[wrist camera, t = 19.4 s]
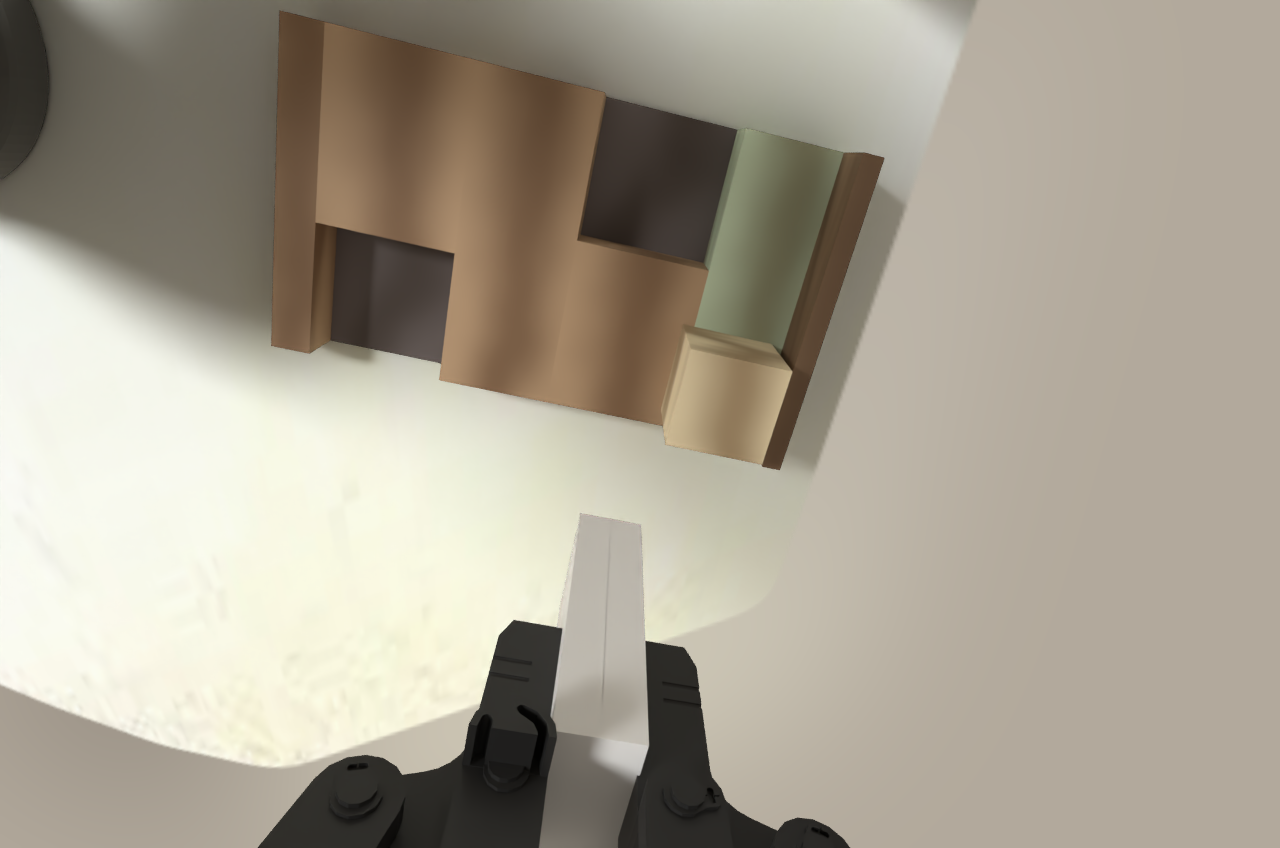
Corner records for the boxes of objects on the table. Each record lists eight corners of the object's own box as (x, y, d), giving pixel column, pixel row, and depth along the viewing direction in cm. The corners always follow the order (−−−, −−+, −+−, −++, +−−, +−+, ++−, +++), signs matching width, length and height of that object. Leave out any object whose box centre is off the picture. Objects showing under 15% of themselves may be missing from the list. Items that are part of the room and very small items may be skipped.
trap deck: (296, 332, 39) (241, 361, 33) (308, 22, 33) (244, -4, 28) (759, 427, 42) (779, 470, 36) (844, 157, 36) (884, 157, 30)
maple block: (660, 409, 38) (665, 444, 33) (683, 324, 36) (691, 349, 31) (745, 427, 38) (762, 464, 34) (771, 344, 37) (792, 371, 32)
